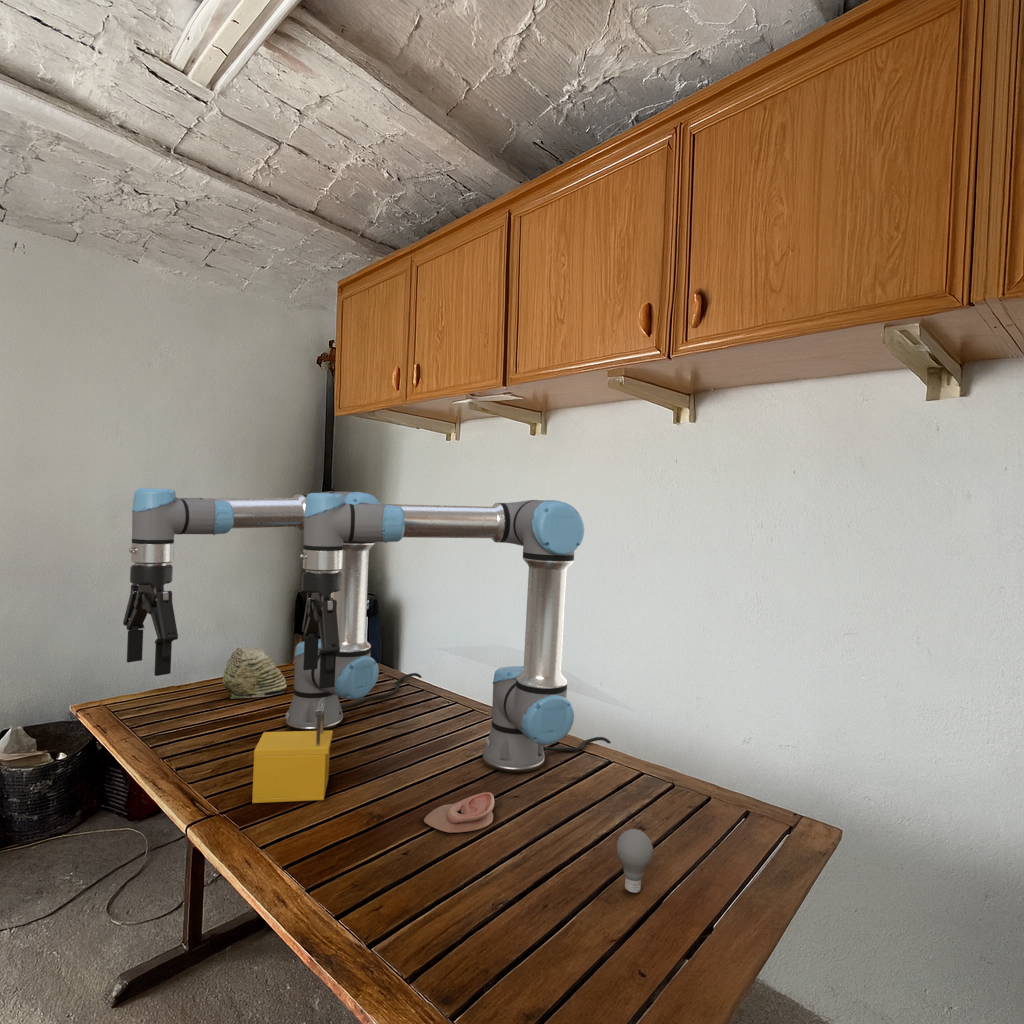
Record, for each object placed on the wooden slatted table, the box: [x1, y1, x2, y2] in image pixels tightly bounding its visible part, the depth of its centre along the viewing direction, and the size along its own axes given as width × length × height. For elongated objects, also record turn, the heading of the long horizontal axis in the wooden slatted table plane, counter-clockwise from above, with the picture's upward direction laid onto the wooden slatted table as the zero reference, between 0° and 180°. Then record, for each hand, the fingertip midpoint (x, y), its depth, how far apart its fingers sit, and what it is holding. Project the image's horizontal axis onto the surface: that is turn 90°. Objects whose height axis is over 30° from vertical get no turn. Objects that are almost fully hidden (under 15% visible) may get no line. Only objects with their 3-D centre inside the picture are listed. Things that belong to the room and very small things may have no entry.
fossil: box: [222, 646, 288, 699], centre depth 198 cm, size 9×18×15 cm, turn 132°
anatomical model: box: [423, 791, 495, 834], centre depth 127 cm, size 13×4×12 cm
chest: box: [251, 747, 331, 804], centre depth 136 cm, size 14×10×10 cm
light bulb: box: [615, 828, 654, 894], centre depth 106 cm, size 6×6×10 cm
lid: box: [253, 698, 334, 757], centre depth 136 cm, size 15×10×9 cm
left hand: (148, 667), depth 129 cm, fingers open, 13 cm apart
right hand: (318, 678), depth 125 cm, fingers open, 13 cm apart
